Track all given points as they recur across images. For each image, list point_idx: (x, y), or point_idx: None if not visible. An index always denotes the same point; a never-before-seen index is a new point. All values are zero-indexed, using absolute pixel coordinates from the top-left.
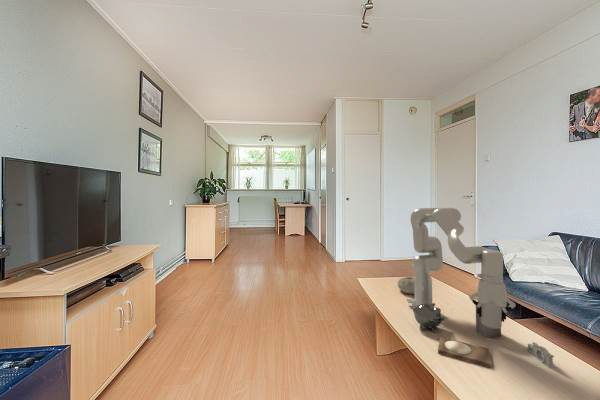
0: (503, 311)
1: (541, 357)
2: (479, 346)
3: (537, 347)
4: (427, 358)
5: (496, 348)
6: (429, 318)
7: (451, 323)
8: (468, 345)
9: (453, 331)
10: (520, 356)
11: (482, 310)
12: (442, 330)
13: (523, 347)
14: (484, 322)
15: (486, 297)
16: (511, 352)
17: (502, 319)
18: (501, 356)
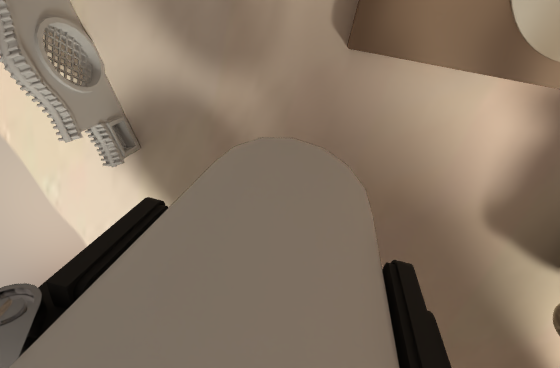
0: (48, 320)
1: (79, 65)
2: (405, 55)
3: (56, 90)
4: None
5: (283, 117)
6: None
7: (435, 316)
8: (495, 36)
9: (469, 243)
10: (179, 67)
11: (392, 343)
12: (543, 241)
13: (155, 173)
14: (358, 192)
15: None
16: (215, 98)
17: (149, 216)
18: (282, 16)
